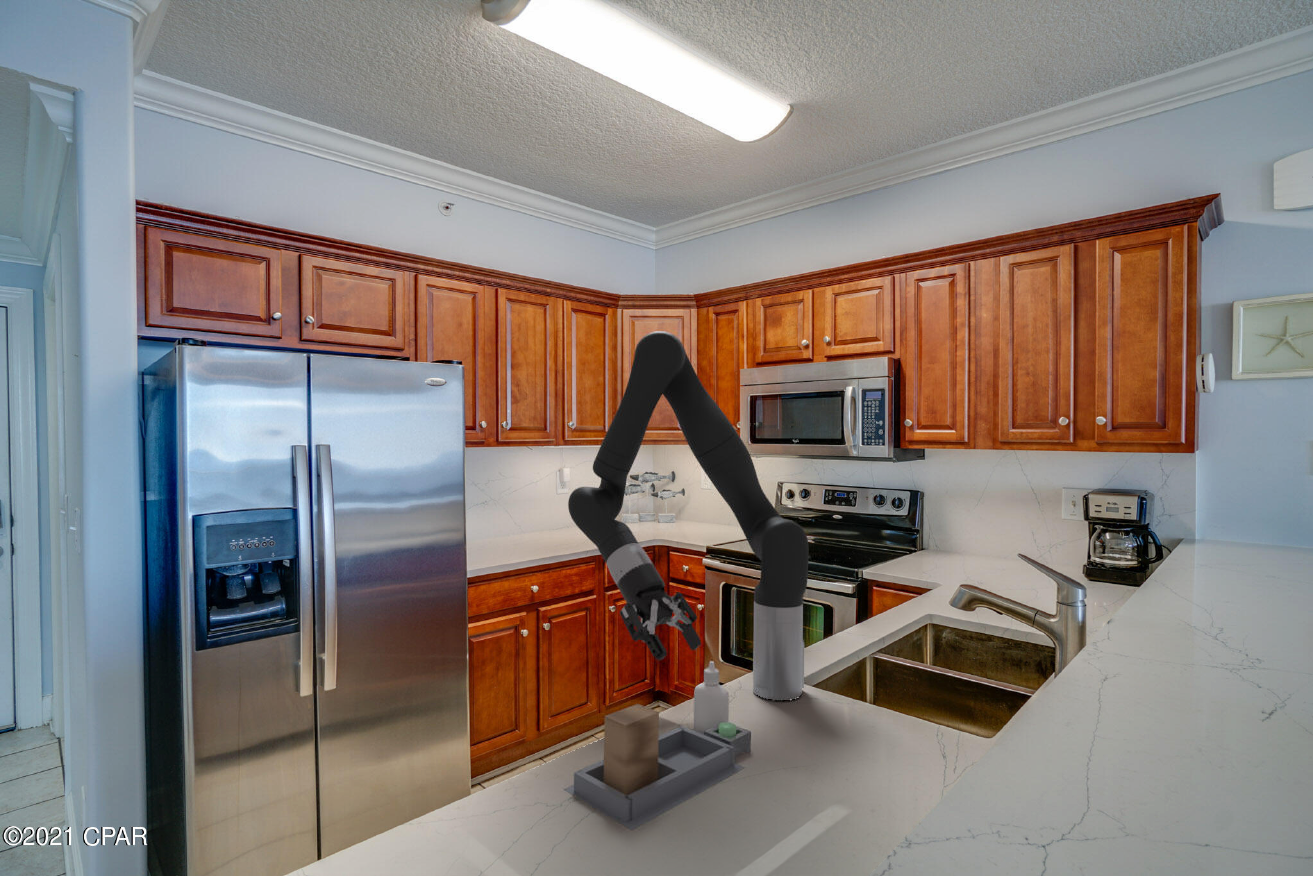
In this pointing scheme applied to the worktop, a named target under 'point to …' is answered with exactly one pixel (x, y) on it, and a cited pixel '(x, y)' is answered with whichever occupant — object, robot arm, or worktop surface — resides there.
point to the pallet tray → (660, 778)
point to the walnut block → (631, 749)
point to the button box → (733, 739)
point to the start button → (727, 729)
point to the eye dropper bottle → (710, 701)
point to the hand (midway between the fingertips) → (680, 652)
